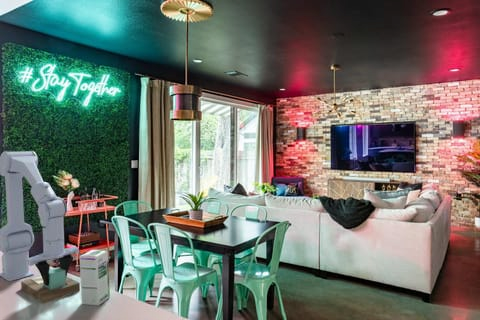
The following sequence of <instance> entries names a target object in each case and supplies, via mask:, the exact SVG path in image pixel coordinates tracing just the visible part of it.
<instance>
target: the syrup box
mask: <svg viewBox="0 0 480 320" xmlns="http://www.w3.org/2000/svg"><path fill="white" fill-rule="evenodd" d="M109 267H110V266H109V251H108V250H106V249H105V250H104V249H91V250H89V251H87V252H86V253H83V254H81V255H79V275H80V295H81V298H80V299H81V304H82V305H88V306H100V305H101V304H102V303H104V302H105V301H107V299H109V298H110V297H111V294H110V293H111V292H110V271H109V269H110V268H109Z"/></svg>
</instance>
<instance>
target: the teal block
mask: <svg viewBox="0 0 480 320" xmlns="http://www.w3.org/2000/svg"><path fill="white" fill-rule="evenodd" d="M65 285H66V273H65V270H64V269H62V268H60V266H59V267H55V268H49V285H48V286H46V285H44V287H45V288H47V289H49V290H52V289H55V288H58V287H61V286H65Z"/></svg>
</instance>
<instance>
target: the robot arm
mask: <svg viewBox="0 0 480 320" xmlns="http://www.w3.org/2000/svg"><path fill="white" fill-rule="evenodd" d="M38 165H39V158H38V155H37V153H36V152H35V151H34V150H29V151H3V152H2V153H1V154H0V176H2V177H4V180H5V181H4V182H5V184H4V185H5V200H6V216H7V217H6V219H7V220H6V221H7V223H6V224H5V225H4V226H3V227H1V228H0V253H2V256H1V273H0V277H2V278H3V279H4V280H6V281H8V282H12V281H15V280H19V279H23V278H27V277H30V276H33V275H34V274H35V272H32V271H31V270H30V267H33V266H35V267H36V268H37V270H38V272H39V273H40V276H42V279H43V282H44V285H46V286H48V285H49V270H50V269H51V265H50V264H49V263H48V262H49V261H53V260H58V262H59V268H62V269H64V270H65V273H66V277H68V272H69V269H70V266H71V265H72V264H73V261H74V256H73V255H79V254H80V251H79V247H77V246H75V247H68V248H65V230H64V217H66V216H67V213H68V205H67V203H66V200H65V199H64V198H61V197H60V196H57V195H56V193H55V191H54V189H52V188H53V187H51V185H50V183H49V182H46V181H44V180H43V177H42V175H41V173H40V171H39V168H38ZM23 178H25V180H26V181H27V182H28V184H29V185H30V186H31V189H30V194H31V196H32V197H33V200H34V201H35V203H36V205H37V206H38V210H37V214H38V216H39V222H40V225H41V226H42V243H43V244H42V245H43V246H42V248H43V250H42V251H43V253H40V254H38V255H34V256H31V257H30V255H29V250H30V249H31V247H32V246H33V245H34V242H35V235H34V232H33V227H32V226H31V225H30V224H28V223H26V222H25V211H24V210H25V209H24V208H25V207H24V194H23V193H24V190H23Z"/></svg>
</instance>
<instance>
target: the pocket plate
mask: <svg viewBox="0 0 480 320" xmlns="http://www.w3.org/2000/svg"><path fill="white" fill-rule="evenodd" d="M20 284H21V285H20V287H21V288H20V289H21V290H22V291H24V292H25V293H26V294H28V295H30V296H31V297H32V298H34V299H35V300H37V301H38V302H40V303H42V304H44V303H47V302H50V301H55V300H57V299H60V298H63V297H65V296H68V295H71V294H75V293H78V292H81V282H78V281H77V280H74V279H73V278H70V277H69V276H67V277H66V285H65V286H61V287H58V288H55V289H52V290H49V289H47V288H45V287H44V282H43V279H42V276H41V275H39V276H35V277H32V278H28V279H24V280H21V281H20Z"/></svg>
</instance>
